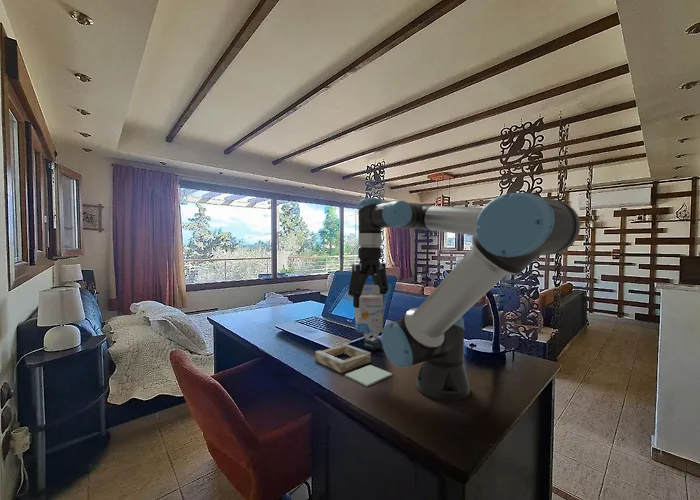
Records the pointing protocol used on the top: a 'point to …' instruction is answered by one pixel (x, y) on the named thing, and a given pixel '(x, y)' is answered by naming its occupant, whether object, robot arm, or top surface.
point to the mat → (368, 375)
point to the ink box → (370, 310)
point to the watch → (371, 341)
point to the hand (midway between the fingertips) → (369, 315)
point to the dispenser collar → (340, 365)
